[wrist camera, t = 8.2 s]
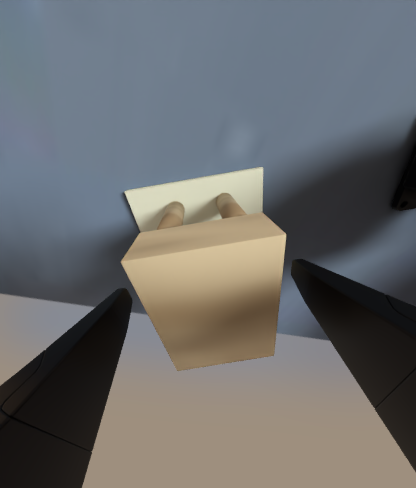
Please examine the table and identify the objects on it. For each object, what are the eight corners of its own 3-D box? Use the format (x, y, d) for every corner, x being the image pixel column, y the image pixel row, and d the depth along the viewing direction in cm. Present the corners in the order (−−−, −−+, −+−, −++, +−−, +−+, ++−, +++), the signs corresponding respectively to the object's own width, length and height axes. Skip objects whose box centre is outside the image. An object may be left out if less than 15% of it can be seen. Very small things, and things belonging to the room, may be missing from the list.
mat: (260, 167, 11) (263, 167, 10) (259, 271, 15) (261, 274, 15) (127, 190, 11) (124, 191, 11) (165, 287, 15) (164, 291, 15)
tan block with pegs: (240, 269, 14) (274, 355, 8) (184, 278, 14) (177, 371, 8) (235, 187, 11) (286, 234, 5) (161, 200, 11) (120, 262, 5)
